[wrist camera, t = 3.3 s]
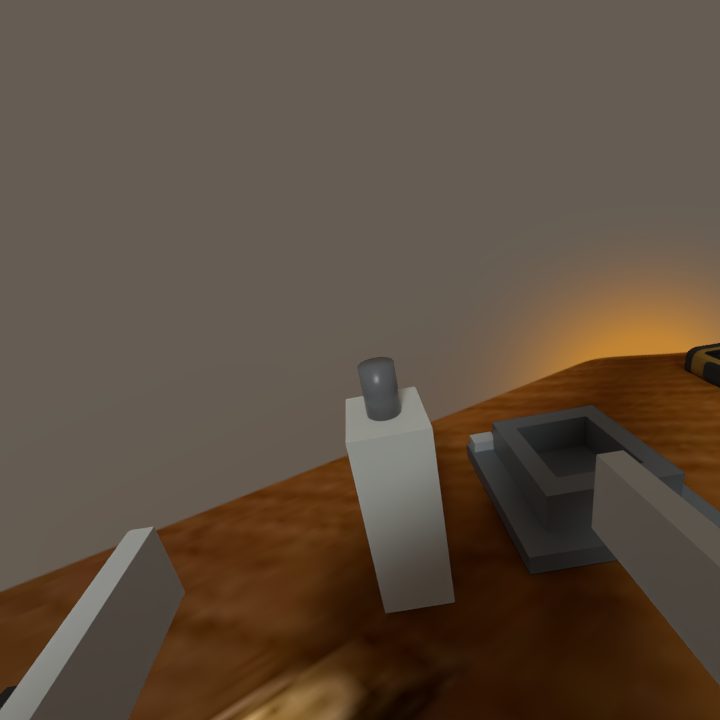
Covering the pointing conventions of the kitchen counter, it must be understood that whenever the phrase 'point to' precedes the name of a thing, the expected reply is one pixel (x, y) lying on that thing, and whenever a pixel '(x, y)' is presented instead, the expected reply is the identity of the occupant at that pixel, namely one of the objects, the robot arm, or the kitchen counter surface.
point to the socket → (560, 482)
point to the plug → (398, 490)
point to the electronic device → (705, 362)
